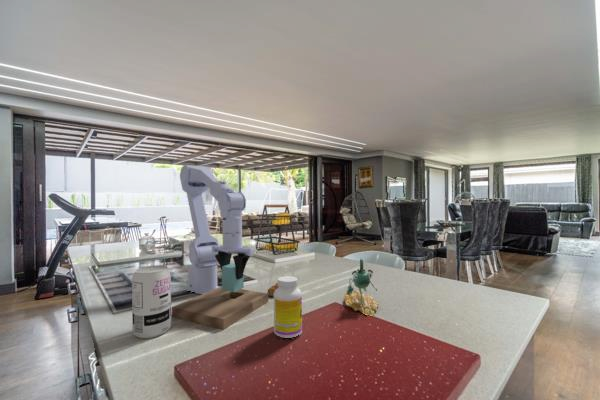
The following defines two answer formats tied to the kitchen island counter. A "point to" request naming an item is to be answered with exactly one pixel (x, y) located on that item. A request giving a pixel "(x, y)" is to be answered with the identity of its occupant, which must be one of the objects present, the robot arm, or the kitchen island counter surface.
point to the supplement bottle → (287, 308)
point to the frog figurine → (358, 298)
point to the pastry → (272, 290)
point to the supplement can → (151, 301)
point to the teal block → (231, 279)
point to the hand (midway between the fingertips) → (232, 277)
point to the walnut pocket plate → (220, 307)
